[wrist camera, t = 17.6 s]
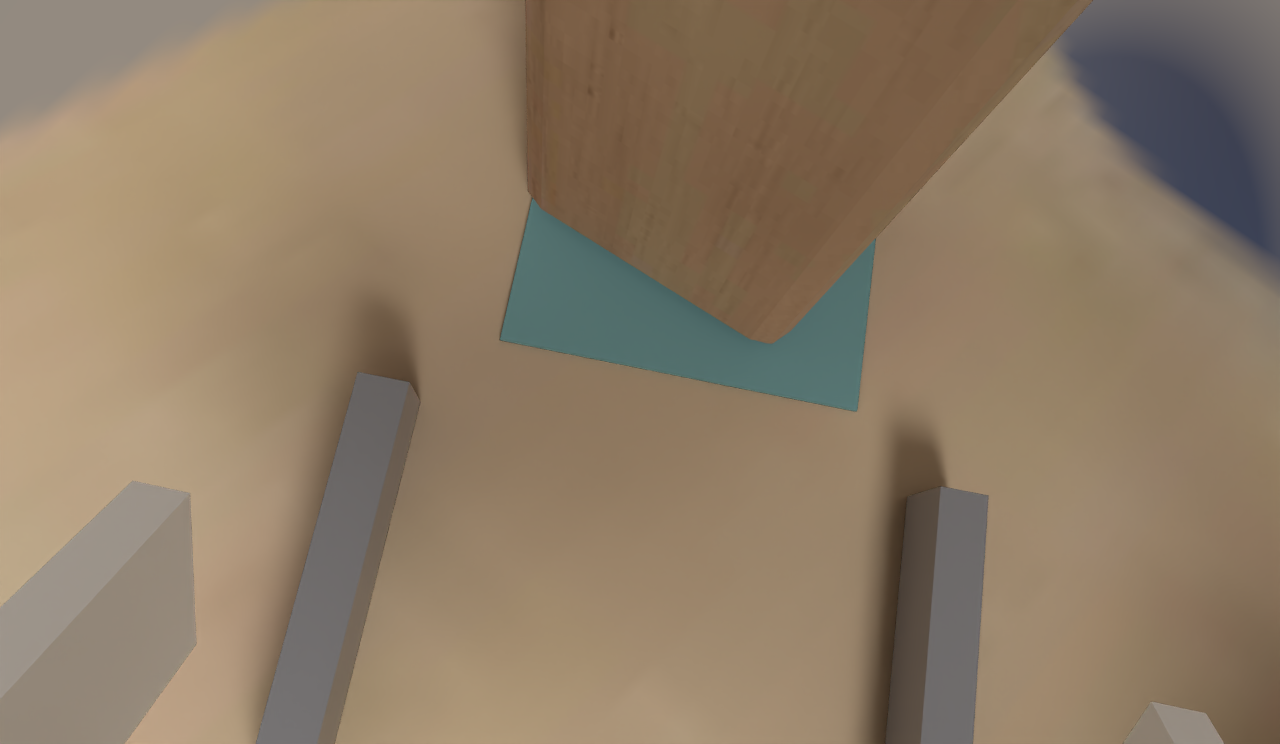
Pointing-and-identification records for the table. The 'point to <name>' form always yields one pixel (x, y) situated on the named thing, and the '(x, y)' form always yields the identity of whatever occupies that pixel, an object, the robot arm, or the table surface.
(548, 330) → the mat
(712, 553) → the table surface
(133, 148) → the table surface
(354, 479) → the chute
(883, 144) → the wooden block
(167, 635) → the robot arm
